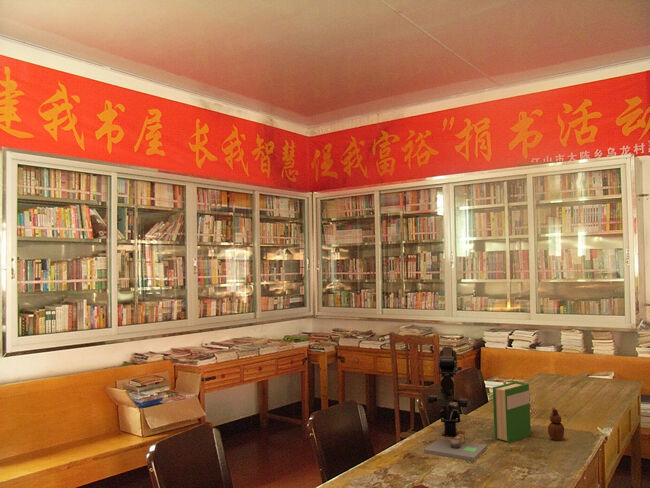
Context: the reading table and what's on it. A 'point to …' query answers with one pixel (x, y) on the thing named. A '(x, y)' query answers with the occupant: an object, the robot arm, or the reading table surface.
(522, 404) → the hardback book
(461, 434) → the lever
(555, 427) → the wooden figurine
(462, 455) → the dial plate
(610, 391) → the reading table surface
